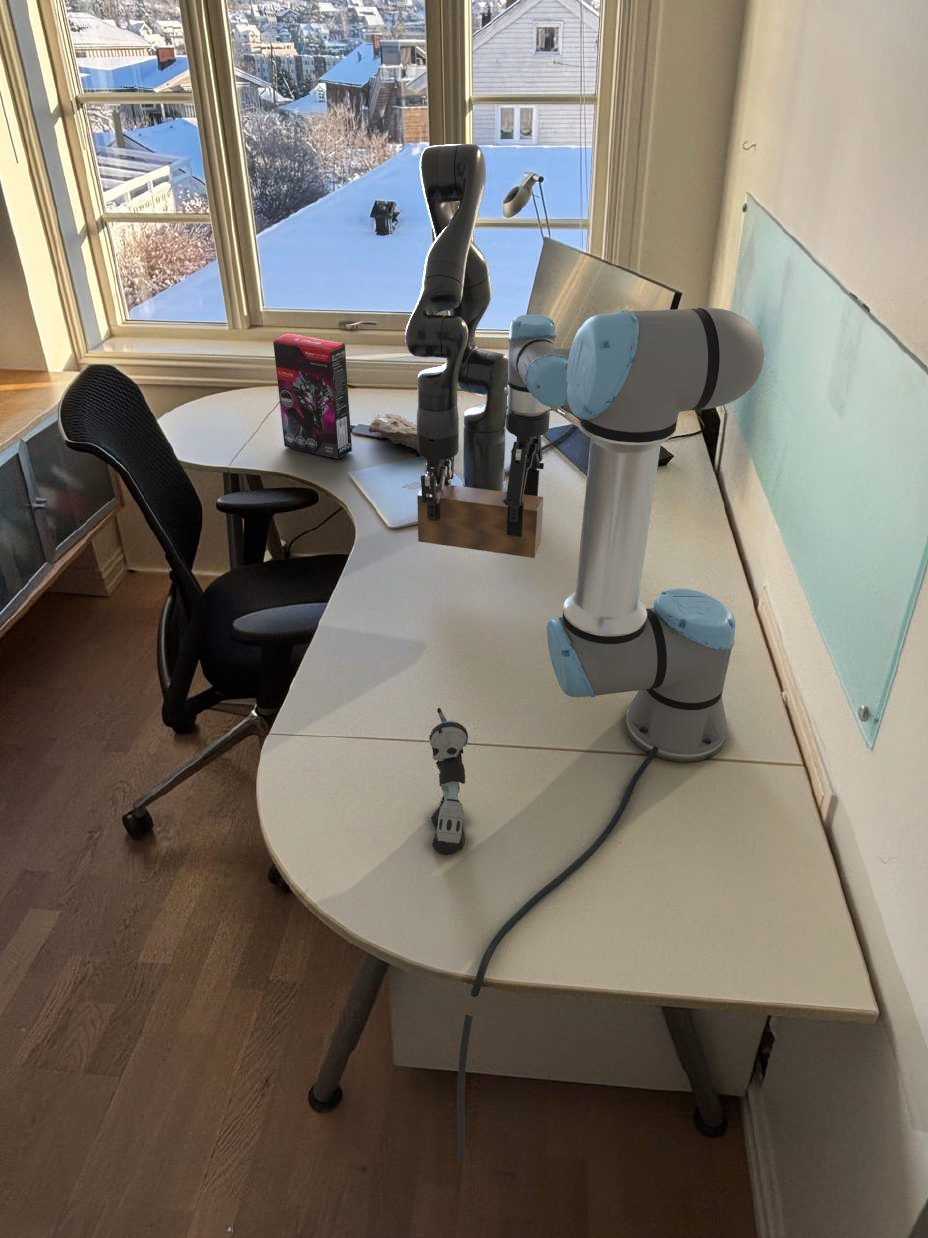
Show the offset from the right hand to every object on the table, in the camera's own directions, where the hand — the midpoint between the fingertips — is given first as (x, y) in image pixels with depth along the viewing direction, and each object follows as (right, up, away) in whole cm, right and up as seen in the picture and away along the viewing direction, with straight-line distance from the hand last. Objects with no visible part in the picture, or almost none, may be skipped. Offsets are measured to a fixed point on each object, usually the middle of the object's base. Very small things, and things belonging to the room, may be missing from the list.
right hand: (522, 517), depth 171 cm
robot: (-13, -48, -45) cm, 67 cm away
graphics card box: (-47, +24, +60) cm, 80 cm away
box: (-8, -4, +5) cm, 10 cm away
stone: (-26, +26, +64) cm, 74 cm away
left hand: (-16, +2, +4) cm, 16 cm away
